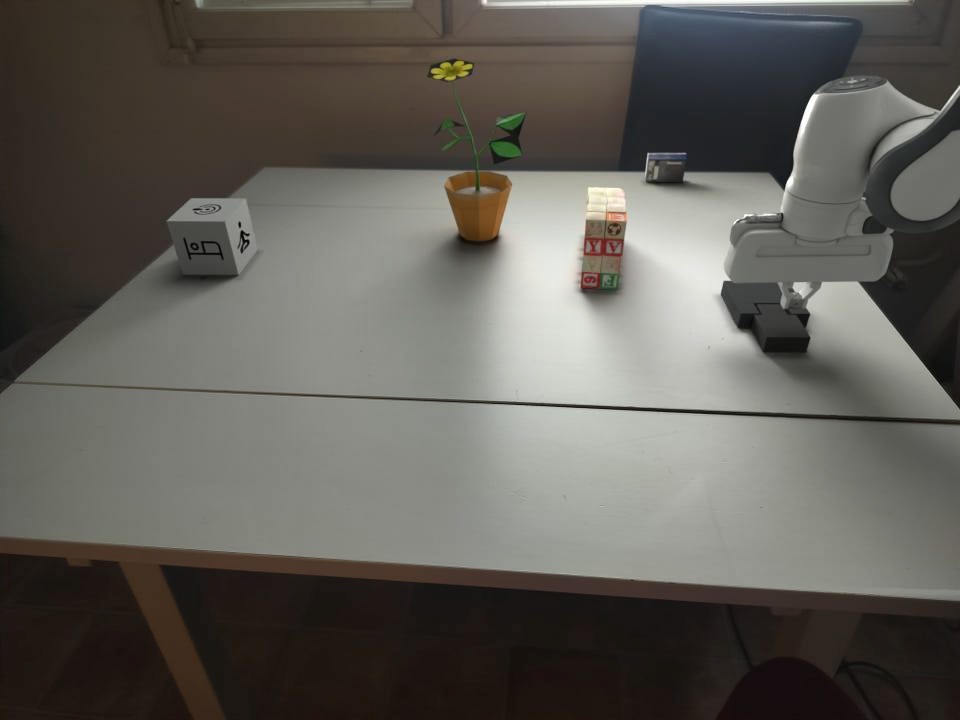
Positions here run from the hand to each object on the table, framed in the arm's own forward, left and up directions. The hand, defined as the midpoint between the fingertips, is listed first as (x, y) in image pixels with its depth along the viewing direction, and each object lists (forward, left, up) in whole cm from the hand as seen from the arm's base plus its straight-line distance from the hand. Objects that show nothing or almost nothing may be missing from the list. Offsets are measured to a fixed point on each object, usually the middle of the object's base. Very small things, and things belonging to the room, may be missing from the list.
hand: (792, 306), depth 93 cm
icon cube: (+92, -24, -6) cm, 95 cm away
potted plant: (+46, -36, -6) cm, 59 cm away
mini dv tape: (+6, -64, -6) cm, 65 cm away
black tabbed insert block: (+1, -2, -6) cm, 6 cm away
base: (+1, -8, -6) cm, 10 cm away
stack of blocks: (+24, -25, -6) cm, 35 cm away
